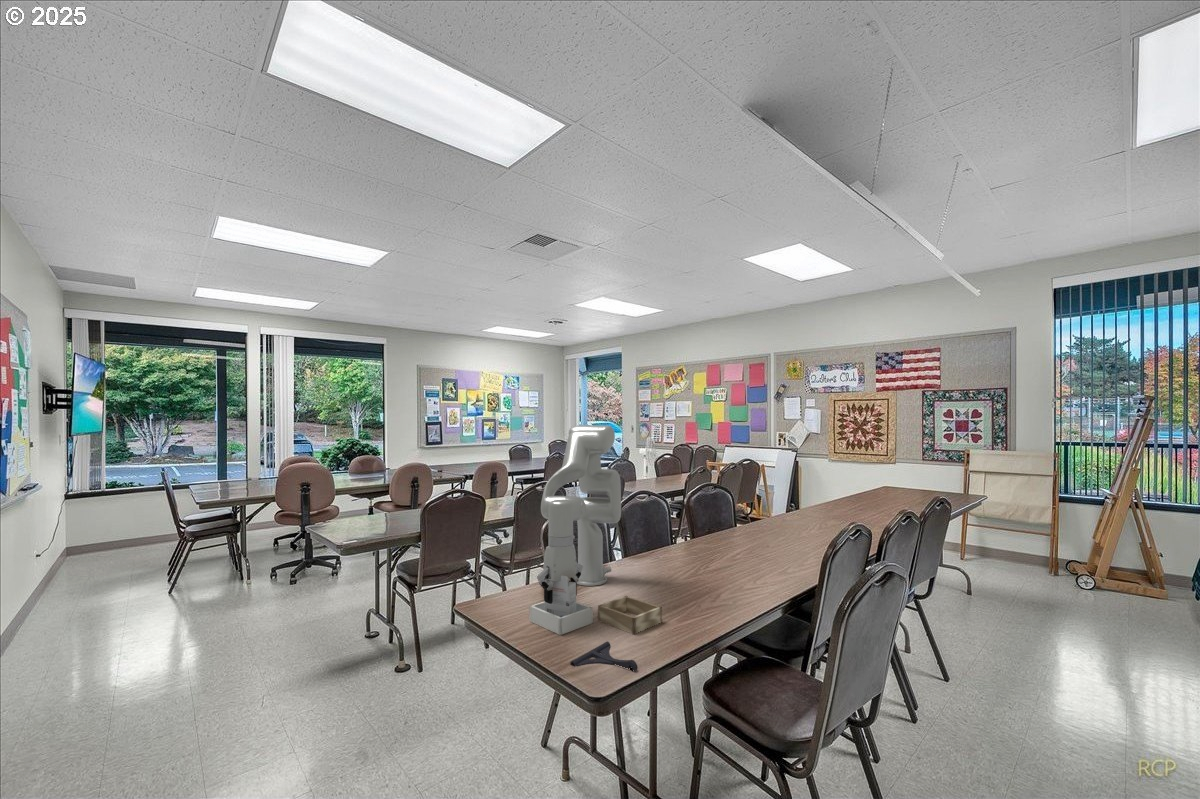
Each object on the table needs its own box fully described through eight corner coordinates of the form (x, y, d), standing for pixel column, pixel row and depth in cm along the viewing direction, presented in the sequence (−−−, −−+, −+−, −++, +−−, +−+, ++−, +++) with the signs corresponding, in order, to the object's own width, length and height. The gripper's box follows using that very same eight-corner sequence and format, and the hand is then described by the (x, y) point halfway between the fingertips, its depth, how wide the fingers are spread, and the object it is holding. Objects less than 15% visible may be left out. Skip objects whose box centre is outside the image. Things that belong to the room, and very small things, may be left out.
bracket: (618, 686, 116) (618, 673, 116) (570, 667, 126) (570, 655, 126) (652, 663, 128) (652, 652, 128) (605, 647, 137) (605, 636, 137)
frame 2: (626, 610, 163) (626, 595, 163) (662, 622, 152) (661, 607, 152) (598, 620, 154) (598, 605, 154) (634, 634, 143) (633, 618, 144)
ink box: (577, 621, 153) (577, 572, 154) (568, 627, 149) (568, 576, 149) (553, 617, 157) (553, 568, 158) (544, 622, 153) (544, 572, 153)
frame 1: (561, 610, 162) (561, 596, 163) (592, 622, 152) (592, 607, 152) (529, 621, 154) (529, 606, 154) (560, 635, 143) (560, 618, 143)
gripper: (573, 535, 163) (574, 589, 162) (530, 543, 151) (530, 602, 150) (589, 538, 157) (590, 595, 157) (546, 548, 145) (545, 609, 144)
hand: (560, 598), depth 153 cm, fingers open, 9 cm apart
